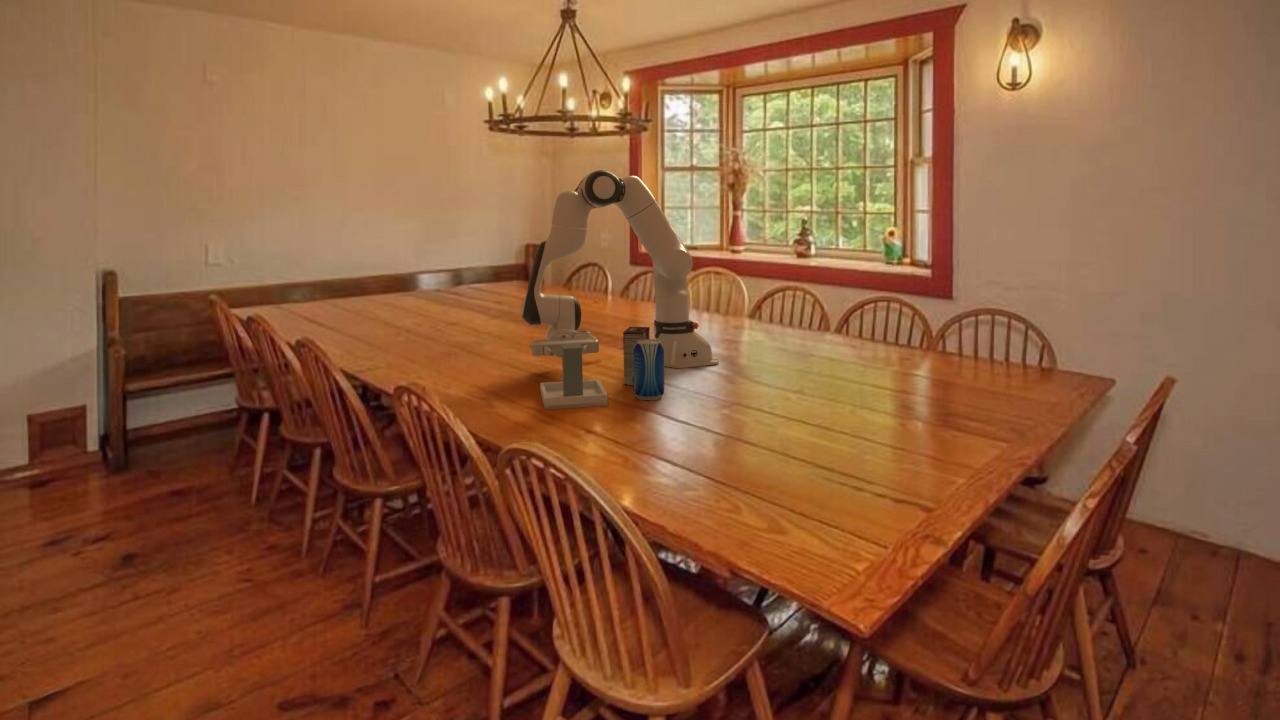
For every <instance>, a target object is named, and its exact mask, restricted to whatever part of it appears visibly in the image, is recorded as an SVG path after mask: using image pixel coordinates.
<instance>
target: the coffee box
mask: <svg viewBox="0 0 1280 720" xmlns="http://www.w3.org/2000/svg"><path fill="white" fill-rule="evenodd" d="M650 329H651V327H650V326H629V327H627V328H626V329H625V330H624V331H623V332H622V334H623V337H622V338H623V339H622V341H623V342H622V343H623V384H624V385H625V384H627V386H634V348H635V346H636V345H637V341H638V340H643V339H651V338H650Z"/></svg>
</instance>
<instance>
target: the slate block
mask: <svg viewBox="0 0 1280 720" xmlns="http://www.w3.org/2000/svg"><path fill="white" fill-rule="evenodd" d="M561 361H562V382H563V394H564V397H565V396H582V395H583V380H584V378H583V377H584V376H583V374H584V373H583V372H584V371H583V354H582V347H581V346H580V344H572V345H562V358H561Z"/></svg>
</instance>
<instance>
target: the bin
mask: <svg viewBox="0 0 1280 720" xmlns="http://www.w3.org/2000/svg"><path fill="white" fill-rule="evenodd" d="M539 387H540V388H539V389H540V395H541V400H542V403H543V407H544V408H543V409H544V410H546V411H547V410H560V409H576V408H589V407H590V408H591V406H594V407H604V406H605V407H606V406H609V398H608V397H609V395H608V393H607V391H606V389H605V388H604V385H602V382H601V380H600V379H599V378H598V379H587V380H586V379H583V395H582V396H565V397H564V394H563V381H549V382H540V383H539Z"/></svg>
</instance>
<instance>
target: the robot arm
mask: <svg viewBox="0 0 1280 720" xmlns="http://www.w3.org/2000/svg"><path fill="white" fill-rule="evenodd" d="M612 204H614V205H616V207H618V209H620V210H621V212H622V214H623V216H624V218H625V219H626V221H627V222H628V224H629V226H630V228H631V229H632V231H633V232H634V234H635V235H636V237H637V239H638V241H639V243H640V244H642V246H643V248H644V249H645V250H646V252H647V254H648V255H649V258H650V259H651V260H652V270H653V271H652V273H653V286H654V304H655V306H654V307H655V308H654V309H655V311H654V312H655V313H654V315H655V316H654V317H655V319H654V320H653V337H654V339H655V340H660V341H661V345H662V347H663V348H664V367H669V368H673V369H685V368H686V369H687V368H695V367H703V366H704V367H705V366H712V365H713V366H714V365H718V364H719V362H720V359H719V357H717V355H714V354H713V351H712V350H713V349H712V345H711V344H710V342H709V341H708V340H707V339H705V338H704V337H703V336H701V334H699V333H698V332H697V331H695V330H698V329H699V327H700V324H699V323H698V322H696V321H692V320H691V319H690V295H689V287H688V275H689V274H690V273H691V271H692V269H693V258H692V255H691V253H690V252H689V249H688V248H687V246H686V245H685V244H684V242H683V241H682V239H681V238H680V236H679V235H678V233H677V232H676V230H675V229H674V227H673V226H672V224H671V223H670V221H669V220H668V218H667V216H666V215H665V213H664V211H663V209H662V208H661V206H660V204H659V203H658V201H657V200H656V198H655V197H654V195H653V193H652V192H651V191H650V189H649V188H648V186H647V185H646V184H645V183H644V182H643V180H641V178H640V177H638V176H637V175H627V176H624V177H623V178H620V177H619V176H617V174H616V175H615V174H614V173H612V172H611V171H608V170H603V169H599V170H595V171H591V172H589V173H588V174H587V175H586V176H585V177H583V178H582V180H581V181H580V182H579V184H578V185H577V187H576V188H575V190H567V191H566V190H565V191H562V192H561V193H559V194H558V196H557V197H556V200H555V204H554V208H553V212H552V217H551V218H552V219H551V228H550V231H549V235H548V236H547V238H546V240H544V241H541V242H540V244H539V246H538V247H537V251H536V255H535V257H534V261H533V264H532V265H533V266H532V270H531V274H530V278H529V280H528V281H529V282H528V286H527V289H526V292H525V296H524V297H523V299H522V303H521V307H520V308H521V310H520V313H521V318H522V319H523V320H524V321H525V322H526V323H527V324H528V325H530V326H535V325H536V326H540V325H545V326H546V325H547V326H548V328H547V330H546V335H545V336H546V338H545V339H534V340H532V342H531V343H529V345H528V346H529V349H531V355H532V356H534V357H540V356H541V357H543V356H548V357H550V356H551V357H553V356H555V357H557V358H561V359H562V345H572V344H580V346H581V347H582V355H586V354H597V353H599V352H600V342H599V339H598V338H597V337H596V336H595V335H592V334H591V332H590V331H588V330H587V331H586V330H579V328H580V326H581V321H582V309H581V307H582V306H581V304H580V302H579V300H578V299H577V297H575V296H574V295H566V294H565V295H564V294H549V293H542V292H541V290H542V287H543V286H542V285H543V281H544V277H545V273H546V270H547V268H548V266H549V265H551V263H553V262H555V261H558V260H561V259H565V258H568V257H571V256H573V255H576V254H578V253H579V252H580V251H581V250H582V249H583V248H584V246H585V244H586V239H587V234H588V233H587V231H588V230H587V229H588V219H589V215H590V213H591V210H593V209H598V208H599V209H601V208H604V207H607V206H611V205H612Z"/></svg>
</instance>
